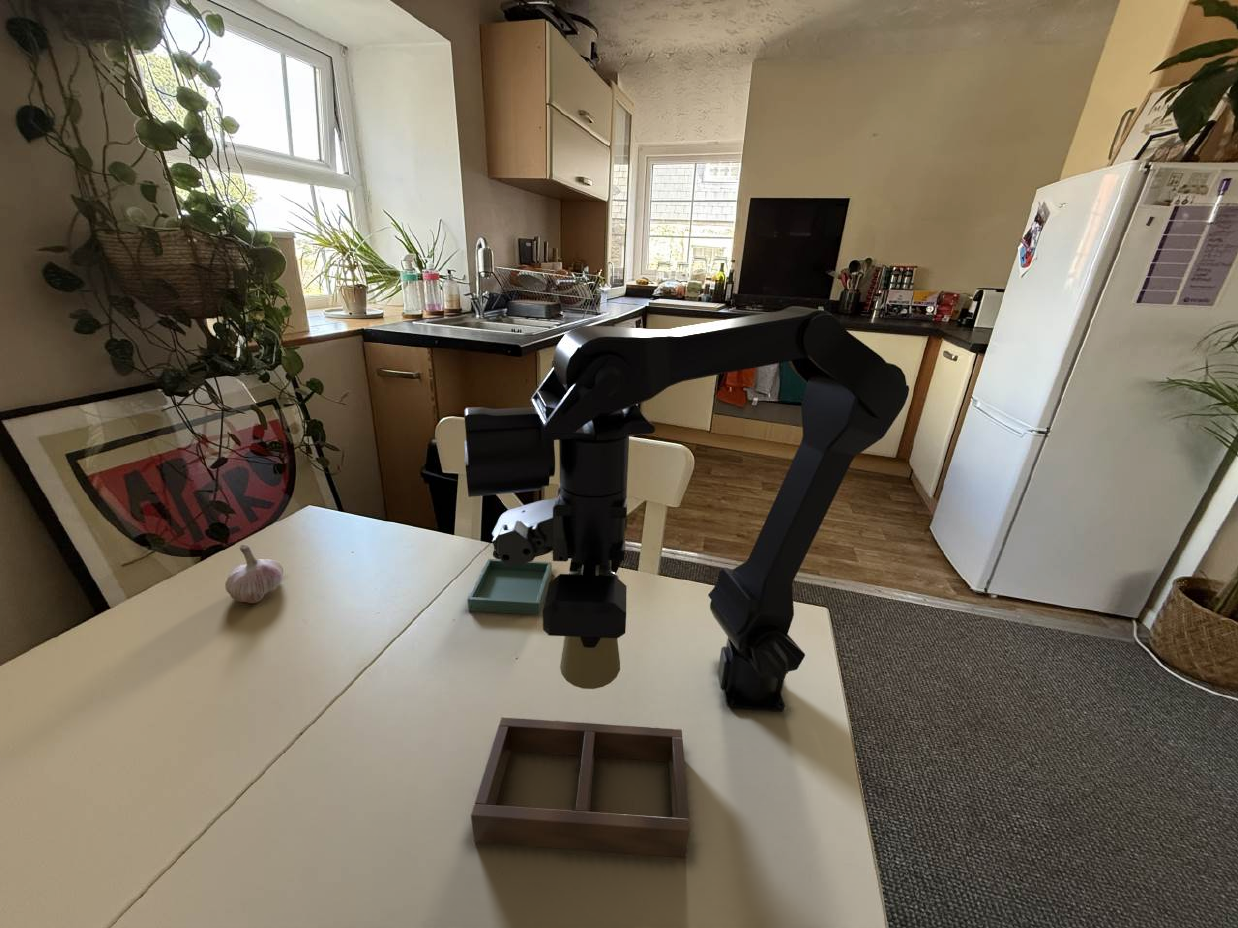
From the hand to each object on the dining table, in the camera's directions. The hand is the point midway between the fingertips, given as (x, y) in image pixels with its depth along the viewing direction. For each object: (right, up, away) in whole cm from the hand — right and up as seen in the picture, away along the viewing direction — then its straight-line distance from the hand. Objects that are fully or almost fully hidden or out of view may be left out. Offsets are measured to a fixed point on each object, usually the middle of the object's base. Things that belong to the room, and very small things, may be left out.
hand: (591, 628), depth 48 cm
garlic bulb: (-49, -3, +23) cm, 55 cm away
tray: (-13, -3, +26) cm, 29 cm away
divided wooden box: (0, -15, -2) cm, 15 cm away
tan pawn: (0, -4, +2) cm, 5 cm away
